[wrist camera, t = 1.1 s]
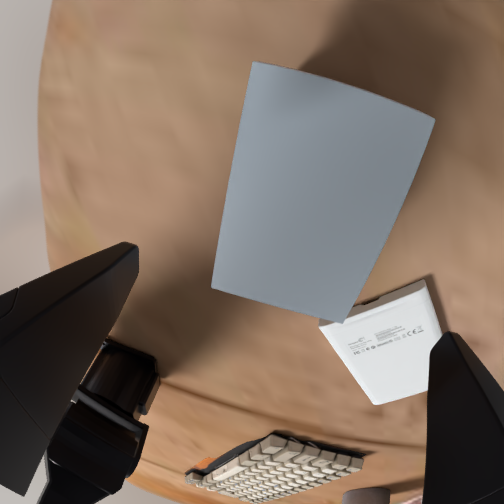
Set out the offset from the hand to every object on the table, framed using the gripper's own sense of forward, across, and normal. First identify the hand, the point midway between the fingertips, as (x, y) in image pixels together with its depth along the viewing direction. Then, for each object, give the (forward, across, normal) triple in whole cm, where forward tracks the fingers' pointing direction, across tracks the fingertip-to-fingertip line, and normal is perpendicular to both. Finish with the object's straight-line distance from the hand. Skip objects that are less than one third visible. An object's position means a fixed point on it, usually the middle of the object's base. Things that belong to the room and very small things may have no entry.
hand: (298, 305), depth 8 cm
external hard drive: (+12, -11, +12) cm, 20 cm away
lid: (+6, 0, 0) cm, 6 cm away
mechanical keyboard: (+12, -8, +50) cm, 52 cm away
